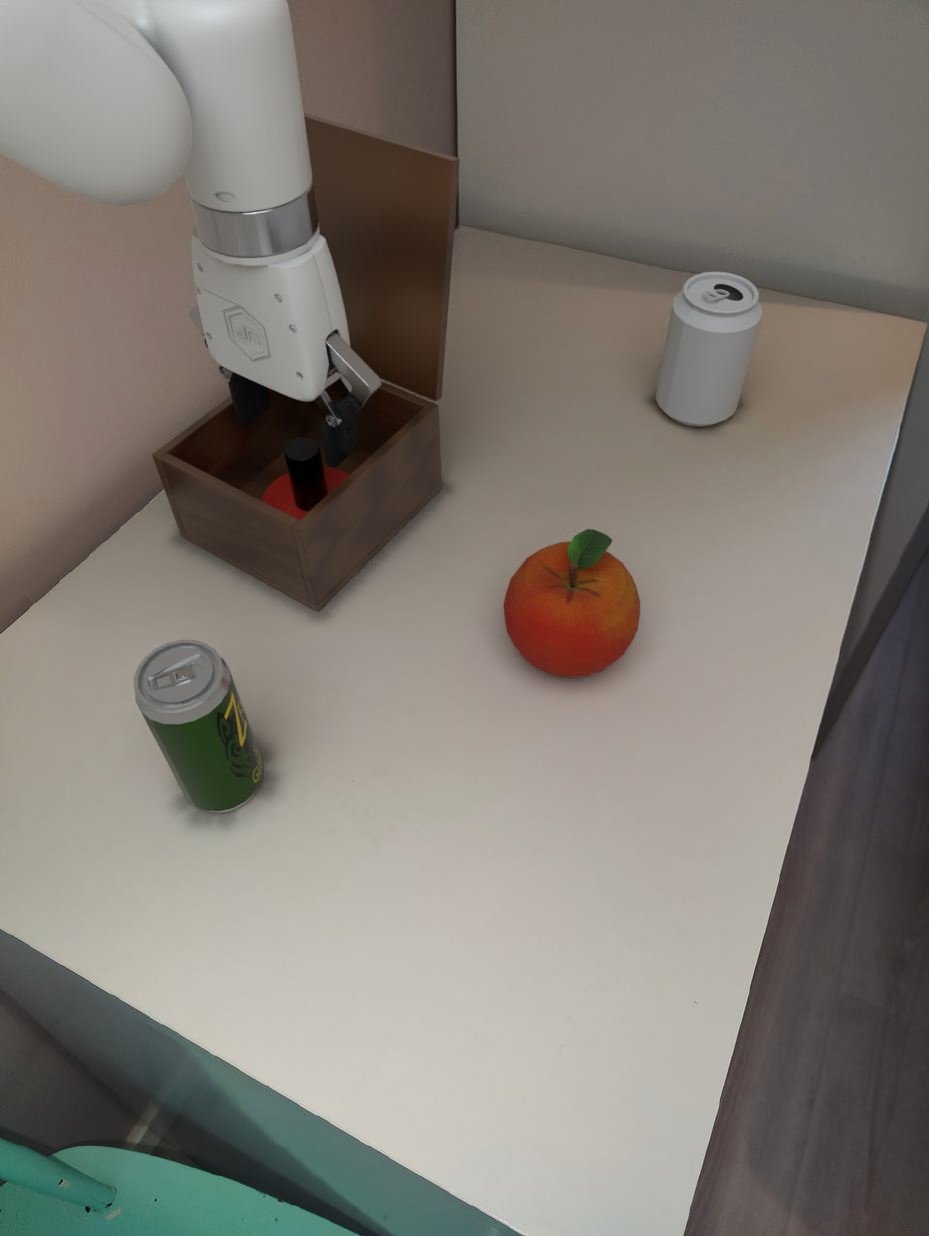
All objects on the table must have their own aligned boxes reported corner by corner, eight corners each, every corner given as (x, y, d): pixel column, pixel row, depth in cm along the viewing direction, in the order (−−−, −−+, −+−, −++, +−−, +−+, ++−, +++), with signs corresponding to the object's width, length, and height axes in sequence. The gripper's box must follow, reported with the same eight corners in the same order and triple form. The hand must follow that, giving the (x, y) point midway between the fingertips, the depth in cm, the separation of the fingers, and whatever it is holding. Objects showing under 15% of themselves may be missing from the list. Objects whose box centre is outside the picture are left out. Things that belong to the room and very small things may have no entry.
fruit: (474, 652, 66) (473, 559, 58) (553, 578, 71) (562, 483, 63) (579, 724, 62) (594, 635, 54) (656, 641, 67) (679, 547, 59)
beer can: (194, 829, 57) (140, 728, 48) (175, 762, 61) (120, 655, 51) (275, 797, 59) (238, 693, 50) (252, 733, 62) (213, 624, 53)
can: (752, 412, 83) (787, 294, 74) (693, 443, 81) (720, 324, 71) (696, 372, 87) (722, 255, 78) (637, 400, 85) (656, 283, 75)
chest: (317, 612, 69) (300, 530, 62) (181, 537, 74) (151, 454, 67) (442, 488, 77) (439, 404, 71) (312, 428, 83) (297, 345, 76)
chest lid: (453, 160, 58) (460, 158, 59) (282, 110, 64) (290, 108, 64) (435, 401, 70) (441, 398, 71) (293, 342, 75) (299, 339, 76)
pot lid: (252, 539, 73) (236, 482, 68) (273, 469, 78) (260, 412, 73) (355, 543, 72) (346, 486, 68) (369, 473, 78) (362, 416, 73)
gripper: (113, 200, 57) (182, 422, 71) (325, 281, 51) (356, 507, 64) (198, 156, 61) (247, 374, 74) (405, 226, 55) (418, 450, 68)
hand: (298, 435), depth 69 cm, fingers open, 8 cm apart
